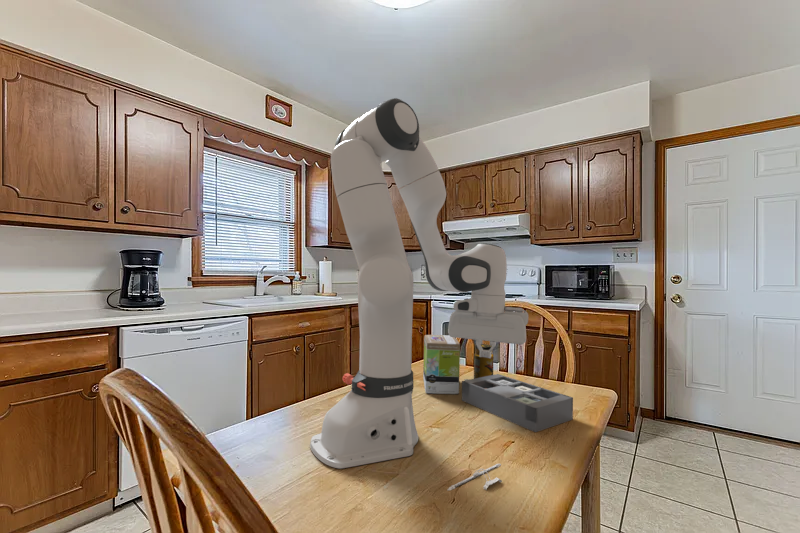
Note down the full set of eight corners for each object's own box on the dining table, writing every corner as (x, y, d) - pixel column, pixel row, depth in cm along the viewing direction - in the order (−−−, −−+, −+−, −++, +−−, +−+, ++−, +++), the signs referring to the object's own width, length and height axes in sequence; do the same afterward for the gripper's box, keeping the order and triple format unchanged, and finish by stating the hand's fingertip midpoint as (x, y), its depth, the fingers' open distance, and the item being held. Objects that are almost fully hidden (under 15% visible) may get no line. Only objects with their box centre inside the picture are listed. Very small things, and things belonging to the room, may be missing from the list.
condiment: (497, 386, 120) (498, 347, 120) (471, 387, 119) (471, 347, 119) (489, 379, 127) (489, 342, 127) (464, 380, 126) (464, 343, 126)
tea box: (460, 394, 112) (460, 343, 112) (425, 394, 112) (425, 342, 112) (453, 379, 127) (454, 334, 127) (422, 379, 127) (423, 333, 127)
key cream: (524, 398, 100) (524, 391, 100) (511, 393, 103) (511, 387, 103) (534, 395, 102) (534, 389, 102) (521, 391, 105) (522, 385, 105)
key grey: (504, 391, 105) (504, 385, 105) (493, 387, 109) (493, 381, 109) (514, 388, 108) (514, 383, 108) (503, 385, 111) (503, 379, 111)
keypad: (535, 432, 87) (535, 408, 87) (461, 400, 107) (462, 381, 107) (572, 419, 95) (573, 397, 95) (497, 392, 115) (497, 373, 115)
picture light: (499, 465, 73) (499, 454, 73) (519, 476, 70) (519, 464, 70) (445, 491, 64) (446, 478, 64) (465, 505, 61) (466, 491, 61)
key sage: (527, 411, 91) (527, 404, 91) (513, 406, 94) (513, 399, 94) (538, 408, 93) (538, 401, 93) (524, 403, 96) (524, 396, 96)
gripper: (529, 307, 103) (526, 359, 103) (452, 301, 110) (450, 350, 110) (528, 309, 97) (525, 365, 97) (447, 303, 104) (445, 355, 104)
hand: (485, 357), depth 104 cm, fingers closed
